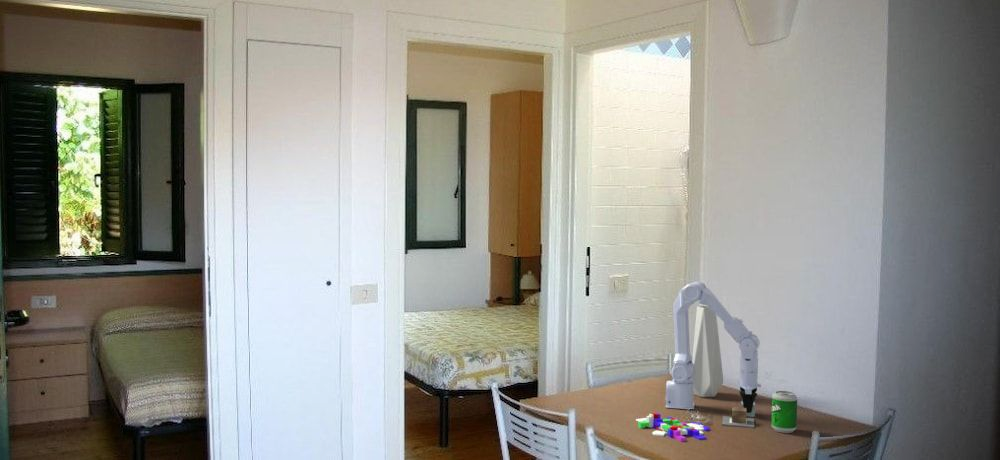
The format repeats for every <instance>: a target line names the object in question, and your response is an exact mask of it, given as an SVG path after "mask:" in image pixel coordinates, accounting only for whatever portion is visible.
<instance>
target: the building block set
mask: <svg viewBox="0 0 1000 460" xmlns="http://www.w3.org/2000/svg"><path fill="white" fill-rule="evenodd" d="M661 417H662V416H661V413H658V412H657V413H649V414H648V415H646V416H645V417H642V418H636V419H635V421H636V422H637V421H638V422H637V427H638V428H639V429H645V428H646V427H647V428H649V427H650V428H655V429H657V430H654V431H652V433H651V434H652V435H653V436H658V437H665V435H667V437H669V438H670V439H671V438H673V439H675V440H677V441H678V442H681V443H682V442H687V437H686V436H692V437H693V438H694V439H697V440H698V441H700V440H707V437H706V436H705V435H704V432H709V431H711V429H710V427H709V426H708V425H704V424H703V423H701V422H699V423H698V422H696V421H691V422H690V423H689V422H688V423H686V422H683V421H682V422H680V421H679V419H678V418H676V417H672V416H669V417H667V416H666V418H661ZM684 435H685V436H684Z"/></svg>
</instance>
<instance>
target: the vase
mask: <svg viewBox="0 0 1000 460" xmlns="http://www.w3.org/2000/svg"><path fill="white" fill-rule="evenodd" d="M695 313H696V314H695V317H696V318H695V323H694V326H695V327H694V337H693V349H692V362H693V364H694V366H695V373H694V375H693V376H692V379H693V380H694V384H693V395H695V396H698V397H700V398H715V397H716V396H717V394H718V392H719V390H720V388H721V387H722V385H723V383H724V373H723V364H722V363H723V362H722V356H721V355H722V353H721V345H720V336H719V327H718V316H717V315H716V314H715V313H714V311H713V310H712V309H711V308H710V307H709V306H707V305H698V306H697V307H696V312H695Z"/></svg>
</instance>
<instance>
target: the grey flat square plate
mask: <svg viewBox="0 0 1000 460" xmlns="http://www.w3.org/2000/svg"><path fill="white" fill-rule="evenodd" d="M721 426H727V427H728V426H729V427H740V428H751V429H752V428H753V429H755V418H754V417H746V424H743V423H732V416H727V415H722V422H721Z"/></svg>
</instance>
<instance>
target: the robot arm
mask: <svg viewBox="0 0 1000 460" xmlns="http://www.w3.org/2000/svg"><path fill="white" fill-rule="evenodd" d="M697 301H698V304H700V305H702V306H709V307H710V308H711V309H712V310H713V311H714V313H715V314H716V316H717V318H719V319H720V320H721V321H722V322H723V323H724V324H723V326H724V327H723V329H724V330H725V332H727V333H728V334H729V336H730V337H731V338H732V339H733V340H734V341H735V342H736V343H737V344H738V347H739V350H740V359H739V361H740V362H739V363H740V364H739V366H740V367H739V383H738V384H739V395H740V397H741V399H742V400H741V401H743V405H744V408H746V413H751V412H752V408H753V403H754V402H755V399H756V398H757V396H758V388H761V387H762V384H761V383H758V377H759V376H758V375H759V374H758V373H759V372H758V371H759V357H758V355H759V353H758V349H759V348H760V339H759V337H758V336H757V335H756V334H753V332H752V331H751V330H749V329H748V328H747V327H746V326H745V324H744V321H743V319H742V318H740V319H739V318H738V317H737V316H732V315H731V314H730V313H729V311H727V309H726V308H725V307H724V305H723V304H722V303H721V301H720V300H719V299H718V298H717V296H715V294H714V293H713V292H712V290H711V289H710V288H709V287H707V286H706V284H705V283H703V282H702V281H700V280H699V281H698V280H696V281H693V282H691V283H688V284H686V285H685V286H683V287H682V288H681V289H680V290H679V292H678V295H677V297H676V298H675V300H674V302H673V304H672V310H673V335H674V358H673V362H672V363H673V364H672V365H673V366H672V369H671V371H670V372H671V373H670V374H671V378H672V380H667V381H666V387H665V399H664V400H665V408H666V409H667V408H668V409H679V410H680V409H682V410H690V409H693V410H694V409H695V405H696V404H695V402H694V392H693V384H694V380H693V379H692V376H693V375H694V373H695V366H694V364H693V362H692V359H693V356H692V355H691V347H690V346H691V345H690V328H689V327H690V325H689V324H690V323H689V322H690V321H689V308H691V306H693V305H694V304H695V303H696V302H697Z"/></svg>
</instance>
